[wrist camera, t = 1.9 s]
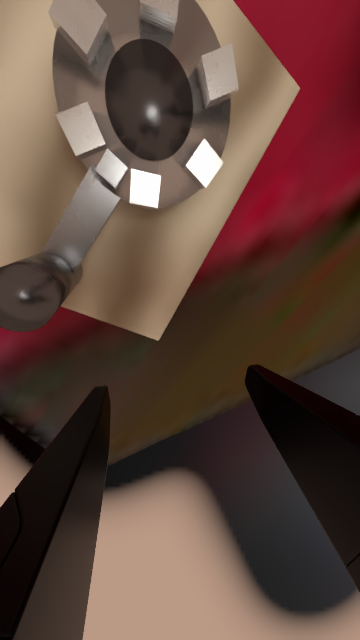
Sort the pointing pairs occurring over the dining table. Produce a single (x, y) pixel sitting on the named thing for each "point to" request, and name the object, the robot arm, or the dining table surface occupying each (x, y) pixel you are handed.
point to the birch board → (126, 221)
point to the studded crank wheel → (125, 129)
